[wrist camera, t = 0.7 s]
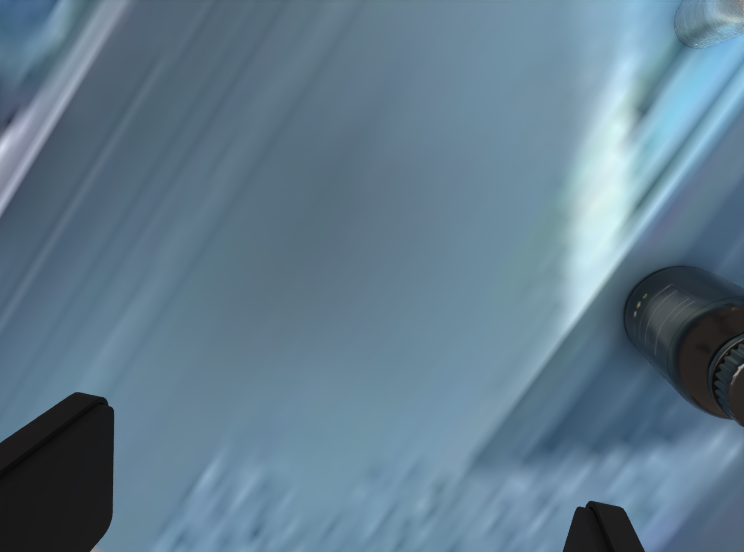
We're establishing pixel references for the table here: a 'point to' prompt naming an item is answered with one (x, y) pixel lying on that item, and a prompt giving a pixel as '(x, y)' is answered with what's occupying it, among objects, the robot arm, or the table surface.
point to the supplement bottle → (693, 336)
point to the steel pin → (709, 21)
